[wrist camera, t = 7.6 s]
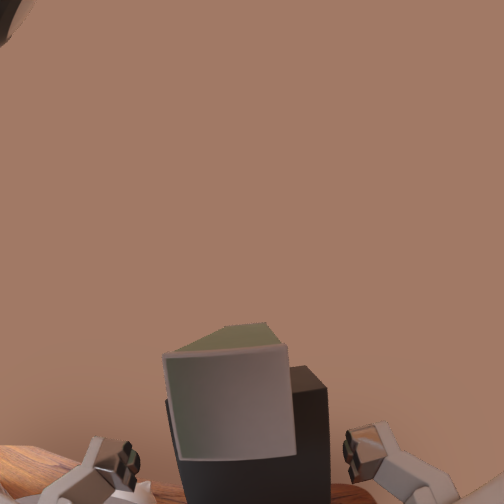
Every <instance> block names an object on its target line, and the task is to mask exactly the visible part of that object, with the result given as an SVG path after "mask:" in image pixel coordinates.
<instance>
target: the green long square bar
mask: <svg viewBox="0 0 504 504" xmlns="http://www.w3.org/2000/svg"><path fill="white" fill-rule="evenodd" d="M162 361H163V369H164V377H165V384H166V390H167V397H168V403H169V409H170V415H171V421H172V426H173V432H174V437H175V442H176V447H177V451H178V456H179V460H181V461H237V460H254V459H266V458H275V457H284V456H292V455H296V453H297V452H296V438H295V425H294V413H293V401H292V389H291V378H290V367H289V357H288V347H287V345H286V344H285V343H281V342H280V340H279V339H278V338H277V337H276V336H275V334H274V333H273V332H272V331H271V329H270V328H269V327H268V326H267V324H266V322H264V323H253V324H243V325H232V326H224V328H222V329H220V330H218V331H216V332H214V333H212V334H210V335H208V336H206V337H203V338H201V339H199V340H197V341H195V342H193V343H191V344H189V345H187V346H184V347H182V348H180V349H178V350H176V351H174V352H166V353H164V354H162Z"/></svg>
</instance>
